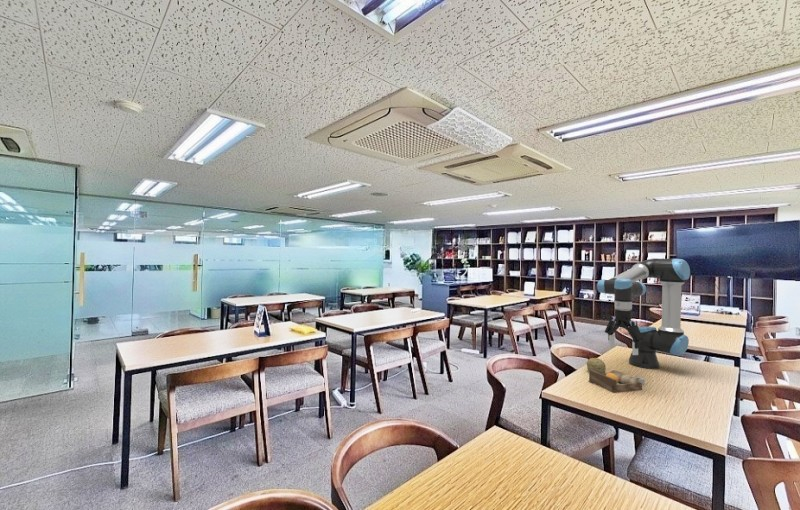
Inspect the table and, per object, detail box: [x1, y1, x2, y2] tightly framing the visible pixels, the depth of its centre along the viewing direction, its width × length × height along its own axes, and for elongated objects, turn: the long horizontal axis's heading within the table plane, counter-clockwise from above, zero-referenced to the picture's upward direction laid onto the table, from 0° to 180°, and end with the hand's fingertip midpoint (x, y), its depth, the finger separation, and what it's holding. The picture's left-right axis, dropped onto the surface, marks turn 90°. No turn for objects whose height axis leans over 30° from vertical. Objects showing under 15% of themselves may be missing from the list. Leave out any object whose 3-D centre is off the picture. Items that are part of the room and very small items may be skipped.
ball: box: [605, 372, 619, 384], centre depth 175 cm, size 6×6×6 cm
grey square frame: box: [633, 376, 645, 385], centre depth 179 cm, size 4×4×2 cm
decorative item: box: [586, 357, 607, 374], centre depth 195 cm, size 10×10×10 cm
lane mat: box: [588, 380, 635, 393], centre depth 175 cm, size 17×15×1 cm
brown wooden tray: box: [588, 369, 643, 394], centre depth 175 cm, size 17×15×6 cm
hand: (623, 351), depth 177 cm, fingers open, 13 cm apart
